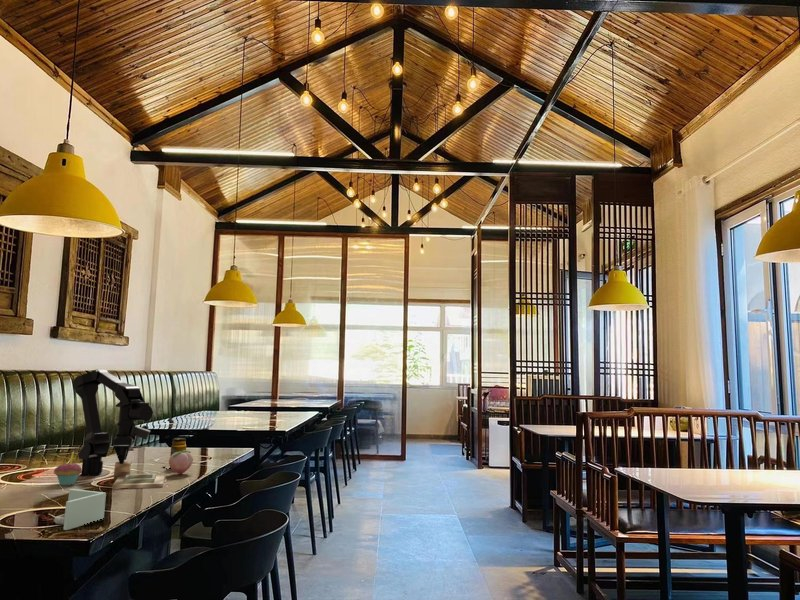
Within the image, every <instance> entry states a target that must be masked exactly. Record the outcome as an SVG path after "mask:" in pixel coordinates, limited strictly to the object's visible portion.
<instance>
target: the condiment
mask: <svg viewBox="0 0 800 600" xmlns="http://www.w3.org/2000/svg"><path fill="white" fill-rule="evenodd" d="M186 440H187V439H186V438H185V437H175V438H172V442H171V446H170V457H171V455H172V454H174V453H175V452H180V451H181V449H182V451H183V450H187V444H186V442H187V441H186ZM170 457H169V458H170ZM163 467H166V466H165V465H164V466H162V468H163Z"/></svg>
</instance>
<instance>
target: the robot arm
mask: <svg viewBox="0 0 800 600" xmlns="http://www.w3.org/2000/svg"><path fill="white" fill-rule="evenodd" d="M72 385H73V389H74V392H75V393H76V394H77V396H79V398H80V399H81V404H82V405H81V406H82V410H83V417H84V423H85V429H86V435H85V438H84V440H83V447H82V448H81V449H80V451H78V453H77V455H78V460H82V462H81V463H82V464H81V473H80V474H79V476H84V477H85V475H86V476H99V474H100V473H101V474H102V473H103V470H104V469H103V467H104V461H103V458H107V456H108V453H109V450H110V444H111V440H110V434H109V432H104V431H103V430H102V426H101V419H100V413H99V409H98V403H97V402H98V401H97V397H96V395H97V393H98V390H99V385H103V386H105V387H106V388H108V389H109V390H111V391H112V392H113V393H114V397H115V398H116V399H117V400H118V401H119V402H117V404H116V405H115V407H116V408H119V410H118V419H117V421H118V422H117V423H116V424H117V425H116V426H117V431H116V434H115V435H116V436H115V438H114V439H113V440H112V446H113V448H114V451H115V454H116V457H117V460H118V462H120V464H123V463H124V462H125V461H126V460H127V458H128V454H129V451H130V448H131V447H132V445H133V444H134V443H135V442H136V439H137V437H138V438H142V439H143V440H147V439H148V437H149V435H150V433H151V430H150V429H149V426H148V425H146V424H145V425H143V426H142V427H141V426H138V425H137V422H139V421H140V422H148V421H149V420H151V419H152V417H153V415H154V411H153V408H152V406H150V402H145V399H144V397H143V394H142V392H141V388H140V387H139V386H137V385H134V384H130V383H127V382H124V381H122V380H121V379H119V378H117V376H115V375H113V374H111V373H110V372H109V371H108V370H106V369H99V368H98V369H94V370H92V371H90V372H87V373H83V374H80V375H77V376H75V378H74V379H73V381H72ZM136 421H137V422H136ZM101 474H100V475H101Z"/></svg>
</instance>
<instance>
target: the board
mask: <svg viewBox="0 0 800 600" xmlns="http://www.w3.org/2000/svg"><path fill="white" fill-rule="evenodd" d="M165 479H166V475H157V473H146V474H145V473H144V474H139V473H138V474H137V473H136V474H130V475H126V477H118V478H117V480H114V482H113V484H112V486H111V487H112V488H111V489H112V490H119V489H118V488H128V489H146V488H148V489H150V488H163V487H164V484H165Z"/></svg>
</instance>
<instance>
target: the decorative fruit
mask: <svg viewBox="0 0 800 600" xmlns="http://www.w3.org/2000/svg"><path fill="white" fill-rule="evenodd" d="M170 455H171V454H170ZM193 462H194V457H193V455H192V453H191V451H190V450H187V449H186V450H183V451H182V449H181V451H180V452H175V453H174V454H172V455H171V457H169V459H168V466H170V468H171V469H170V470H172V472H175V473H176V474H178V475H182V474H183V473H185V472H187V471H188V470H189V469H190V468H191V466H192V465H193Z"/></svg>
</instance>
